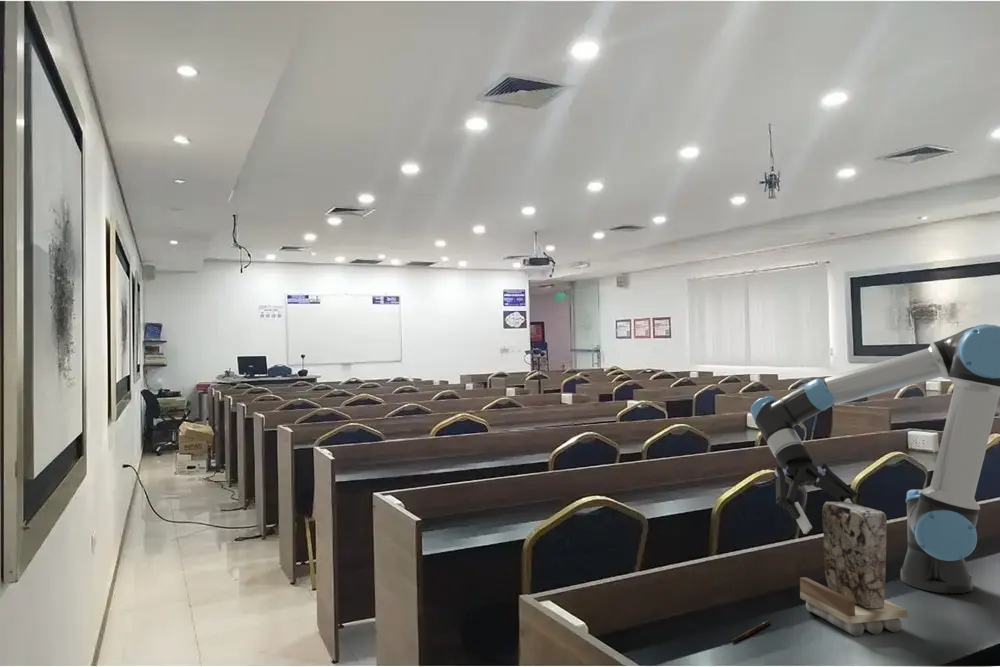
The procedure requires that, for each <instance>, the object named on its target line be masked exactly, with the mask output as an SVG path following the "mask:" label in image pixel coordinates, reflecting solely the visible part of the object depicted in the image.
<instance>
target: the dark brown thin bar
mask: <svg viewBox="0 0 1000 667" xmlns="http://www.w3.org/2000/svg"><path fill="white" fill-rule="evenodd" d="M769 623H770V624H771V620H769V619H767V620H766V621H764V622H761V623H759V624H758V625H756V626H754V627H752V628H750V629H748V630H747V631H745V632H743V633H741V634H740V635H737V636H736V637H734V638H732V639H731V644H732V643H735V644H736V642H737V643H739V642H740V641H741V640H743V638H744V639H745V638H747V637H749V636H750V634H751V635H752V633H753V634H754V633H756V632H758V631H759V630H758V629H760V628H761V627H763V626H765V625H767V624H769ZM770 624H769V625H770ZM767 626H768V625H767ZM765 627H766V626H765ZM763 628H764V627H763ZM761 629H762V628H761ZM761 629H760V630H761ZM757 630H758V631H757ZM739 640H740V641H739Z"/></svg>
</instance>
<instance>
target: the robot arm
mask: <svg viewBox="0 0 1000 667" xmlns="http://www.w3.org/2000/svg"><path fill="white" fill-rule="evenodd" d="M937 378H943V379H945V380H949V381H950V382H951V383H952V385H953V387H954V388H953V392H952V396H951V399H950V404H949V407H948V411H947V412H948V413H947V415H946V420H945V425H944V428H943V432H942V436H941V440H940V444H939V448H938V451H937V452H938V453H937V457H936V460H935V465H934V469H933V474H932V478H931V481H930V485H929V486H927V487H925V488H924V489H909V490H907V491H906V498H905V503H906V520H907V521H906V522H907V523H906V525H907V530H906V531H907V550H906V554H905V557H904V560H903V564H902V566H901V568H900V580H901V582H903V583H904V584H906V585H908V586H910V587H913V588H916V589H920V590H924V591H927V592H931V593H932V592H933V593H939V594H940V593H941V594H947V593H951V594H952V595H955V594H956V593H963V594H965V593H964V592H968V593H970V592H969V591H971V590H972V589H973V590H974V581H973V577H972V576H971V574H970V572H969V568H968V564H967V562H966V560H965V558H966V557H968V556H970V555H971V554H972V553H973V551H974V550H975V549H976V546H977V543H978V534H977V529H976V526H977V523H978V519H979V513H980V510H981V506H980V505H979V503H978V502H977V501H976V498H975V496H976V492H977V488H978V483H979V479H980V476H981V471H982V468H983V463H984V460H985V457H986V451H987V448H988V444H989V439H990V435H991V432H992V427H993V423H994V420H995V416H996V412H997V407H998V403H999V398H1000V326H999V325H995V324H987V323H986V324H979V325H976V326H971V327H969V328H965V329H963V330H961V331H959V332H957V333H955V334H953V335H950V336H947V337H945V338H943V339H939V340H937V341H933V342H931V343H930V344H929V346H928V347H927V348H924V349H920V350H917V351H914V352H910V353H906V354H904V355H901V356H896V357H893V358H890V359H886V360H883V361H879V362H876V363H873V364H870V365H867V366H862V367H859V368H856V369H852V370H848V371H846V372H842V373H838V374H835V375H832V376H829V377H826V378H825V377H824V378H822V379H821V378H815V379H813V380H811V381H808V382H806V383H802V384H800V385H799V386H798V387H796V389H794V390H793V391H792V392H790V393H789V394H787V395H785V396H783V397H781V398H779V399H776V398H777V397H774V396H771V395H770V396H768V395H767V396H764V397H760V398H758V399H757V400H755V401H754V402H753V403H752V405H751V406H750V414H751V416H752V418H753V421H754V424H755V425H756V426H757V429H758V430H759V432H760V433H761V435H762V437H763V439H764V440H765V443H766V444H767V446H768V447H769V450H770V451H771V454H772V455H773V456H774V458H775V460H776V462H777V464H778V466H776V468H775V469H774V471H773V472H772V475H773V478H774V480H775V504H776V505H777V507H782V508H783V509H784V510H785V511H787V510H788V512H789V514H790V516H791V518H792V519H793V520H796V523H797V524H798V526H799V528H800V530H801V531H802V533H803V535H807V534H809V532H810V530H812V529H813V526H812V524H811V522H810V521H809V519H808V517H807V515H806V514H805V511H804V510H803V508H802V506H801V505H800V503H799V501H795V499H796V496H797V493H798V490H799V489H798V488H799V486H800V487H805V486H806V487H807V486H808V487H810V486H813V487H815V488H817V489H821V490H822V491H823V492H826V493H827V494H828V495H830V496H831V497H833V499H836V500H838V502H848V503H852V504H856V503H855V502H854V501H853V500H854V499H855V498H856V496H857V495H858V493H857V492H856V491H855V490H853V488H852V487H850V486H849V485H848V484H847V483H846V482H845V481H843V480H842V478H840V477H839V476H837V475H836V474H835V473H834V472H833V471H832V470H831V469H830V467H828V465H827V463H826V464H825V463H822V464H821V466H816V465H815V464H814V463H813V460H812V459H813V458H812V455H811V453H810V452H809V450H808V449H807V447H806V446H805V445H804V443H803V440H802V439H801V437H800V435H798V432H797V431H796V429H795V428H794V427H795V426H797V425H799V424H801V423H802V422H804V421H806V420H808V419H810V418H812V417H814V416H815V415H818V414H819V413H821V412H822V411H826V410H828V408H832V407H835V406H839V405H842V404H846V403H849V402H853V401H857V400H860V399H864V398H867V397H871V396H875V395H879V394H881V393H887V392H890V391H893V390H898V389H901V388H905V387H908V386H912V385H916V384H919V383H922V382H926V381H931V380H934V379H937ZM786 478H788V479H790V482H789V487H788V491H787V490H786ZM818 479H819V480H818ZM786 492H787V493H786ZM973 590H972V591H973ZM972 591H971V592H972ZM953 593H955V594H953ZM951 594H950V595H951ZM956 595H957V594H956Z"/></svg>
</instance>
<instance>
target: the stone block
mask: <svg viewBox="0 0 1000 667" xmlns="http://www.w3.org/2000/svg"><path fill="white" fill-rule="evenodd" d="M821 513H822V515H821V517H822V520H821V521H822V530H823V546H822V547H823V548H822V549H823V556H824V561H823V562H824V573H825V581H826V583H827V588H829V589H831V590H833V591H835V592H838V593H840V594H842V595H844V596H846V597H848V598H850V599H852V600H854V601H855V604H858V605H860V606H862V607H865V608H871V609H873V608H883V607H884V600H885V597H886V596H885V591H886V564H887V527H888V526H887V525H888V524H887V516H886V513H885V512H883V511H881V510H878V509H875V508H874V509H873V508H871V507H866V506H862V505H860V504H857V503H855V504H852V503H848V502H841V501H825V502H824V504H823V506H822V512H821Z"/></svg>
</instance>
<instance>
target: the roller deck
mask: <svg viewBox="0 0 1000 667" xmlns="http://www.w3.org/2000/svg"><path fill="white" fill-rule="evenodd" d="M799 594H800V595H799V598H800V599H801V600H803V601H805V608H806V609H807V611H809V612H810V613H812V614H814V615H816V616H818V617H820V618H821V619H823V620H825V621H826V622H828V623H830V624H832V625H834V626H835V627H837V628H839V629H842V631H845V632H847V633H848V634H850V635H852V636H854V637H856V638H859V637H861V636H863V634H864V632H865V631H867V632H869V633H871V634H873V635H880V634H881V633H882V631H883V630H884V629H886V630H888V631H890V632H892V633H898V632H899V631H900V630H901V628H902V621H901V619H905V618H908V609H906V608H903V607H901V606H899V605H897V604H894V603H892V602H890V601H888V600H886V599H884V607H883V608H873V609H871V608H865V607H862V606H860V605H858V604H855V601H854V600H852V599H850V598H848V597H846V596H844V595H842V594H840V593H838V592H835V591H833V590H831V589H829V588H828V586H825V585H823V584H821V583H819V582H817V581H815V580H813V579H811V578H808V577H806V576H804V577H799Z"/></svg>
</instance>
